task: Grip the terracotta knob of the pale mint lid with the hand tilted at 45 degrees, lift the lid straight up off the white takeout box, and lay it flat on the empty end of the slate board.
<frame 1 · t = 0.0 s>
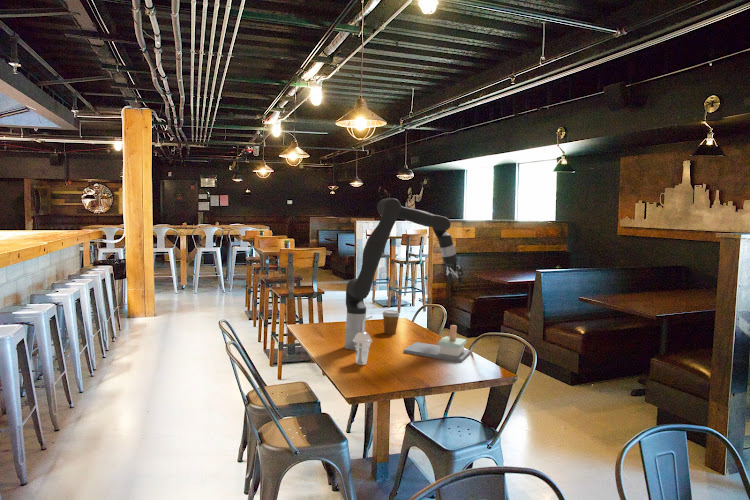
hand: (456, 282, 264), 31 cm above the table, tool tilted 20°, fingers open, 8 cm apart
disposable coffee cup: (389, 333, 276), on the table
slate board: (437, 353, 239), on the table
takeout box: (451, 352, 236), resting on slate board
cup with straw: (361, 363, 216), on the table
mint lid: (452, 344, 236), point 5 cm above the table, touching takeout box
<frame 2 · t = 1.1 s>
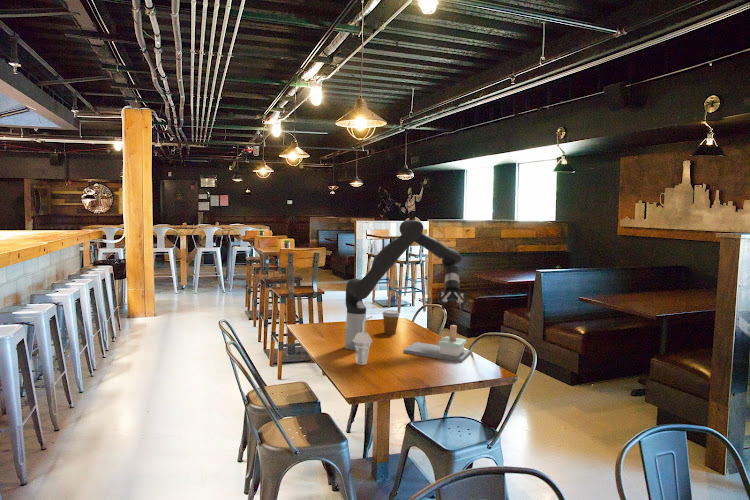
hand: (452, 309, 247), 20 cm above the table, tool tilted 45°, fingers open, 8 cm apart
nothing on the table moved.
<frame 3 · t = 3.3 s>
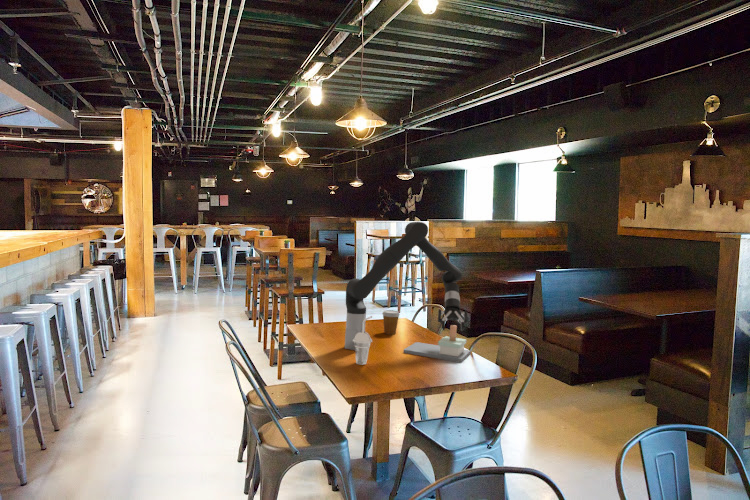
hand: (452, 329, 238), 12 cm above the table, tool tilted 45°, fingers open, 8 cm apart
nothing on the table moved.
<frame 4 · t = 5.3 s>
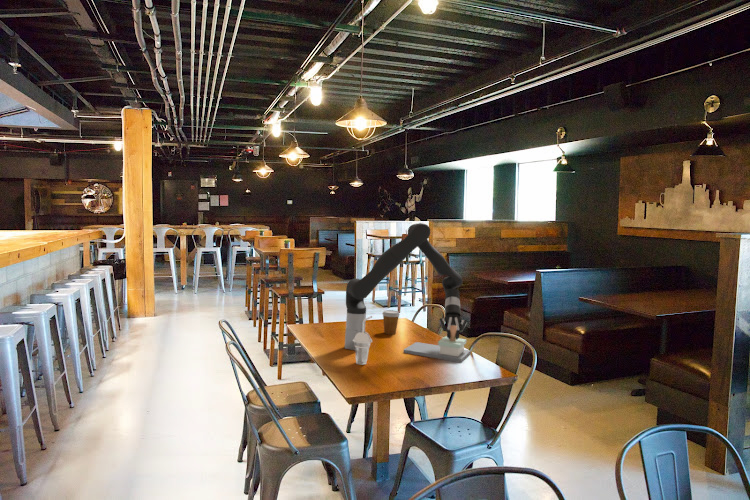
hand: (453, 338, 234), 9 cm above the table, tool tilted 45°, fingers closed on mint lid, 3 cm apart
mint lid: (452, 344, 236), point 6 cm above the table, touching gripper, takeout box
everything else where it was.
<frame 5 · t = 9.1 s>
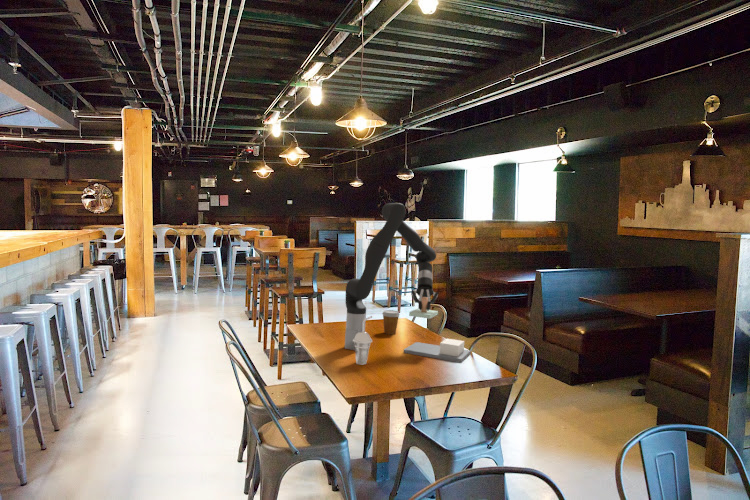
hand: (424, 309, 239), 21 cm above the table, tool tilted 45°, fingers closed on mint lid, 3 cm apart
mint lid: (423, 315, 242), point 17 cm above the table, touching gripper
everything else where it was.
when the fingers open (6 cm above the table, at t = 12.9 s): mint lid drops 1 cm, resting on slate board.
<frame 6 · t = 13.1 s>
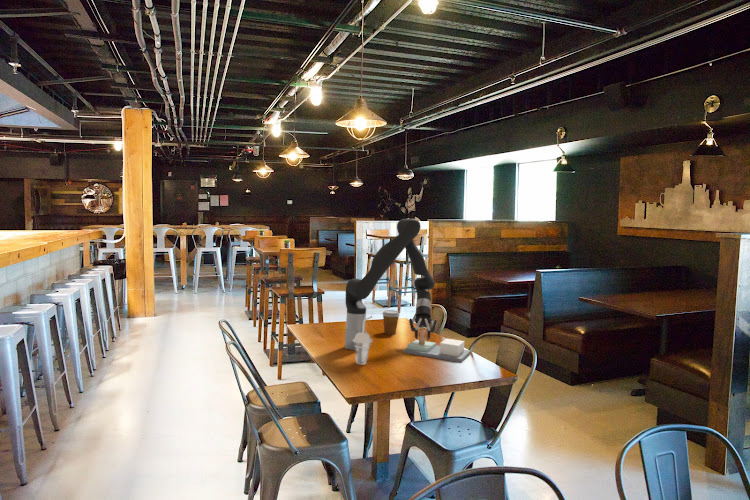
hand: (422, 338, 240), 6 cm above the table, tool tilted 45°, fingers open, 4 cm apart
mint lid: (421, 347, 243), point 1 cm above the table, touching slate board
everything else where it was.
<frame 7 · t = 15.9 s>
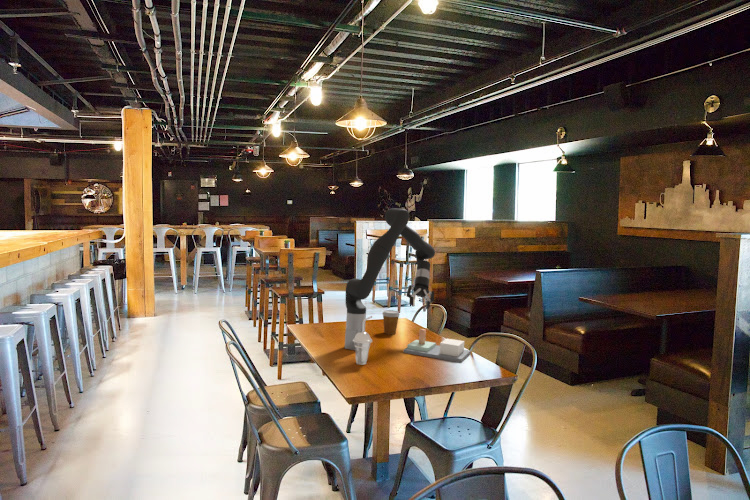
hand: (419, 306, 255), 19 cm above the table, tool tilted 35°, fingers open, 8 cm apart
nothing on the table moved.
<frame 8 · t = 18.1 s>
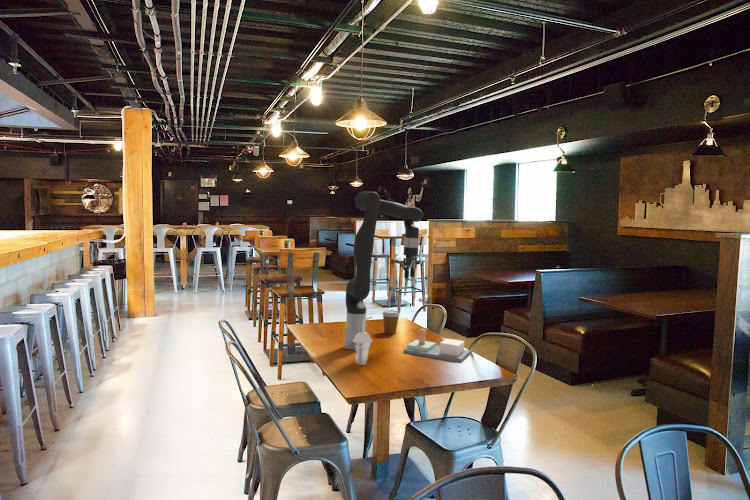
hand: (409, 277, 260), 33 cm above the table, tool pointing down, fingers open, 8 cm apart
nothing on the table moved.
at the end: mint lid inside the target area (0.1 cm from its centre), point 1.5 cm above the table; mint lid tilted 0°; mint lid touching slate board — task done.
